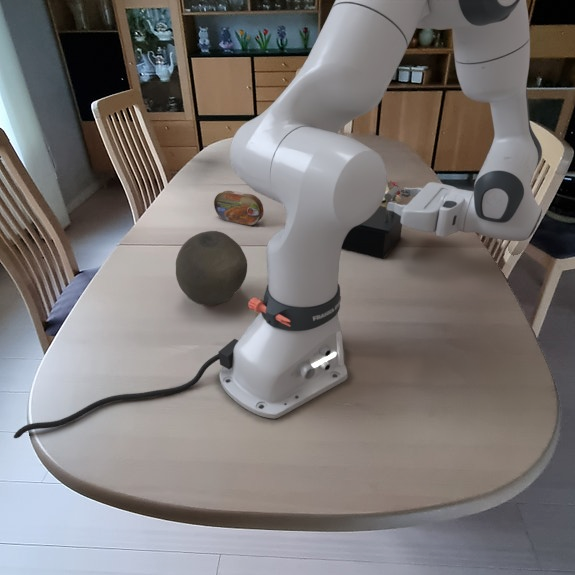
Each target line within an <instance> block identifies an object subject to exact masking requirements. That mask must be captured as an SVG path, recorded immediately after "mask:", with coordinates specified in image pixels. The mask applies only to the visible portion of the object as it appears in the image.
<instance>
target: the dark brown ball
mask: <svg viewBox="0 0 575 575" xmlns="http://www.w3.org/2000/svg"><path fill="white" fill-rule="evenodd" d="M247 273H248V260H247V257H246V254H245V253H244V250H243V249H242V247H241V245H240V244H239V243H238V242H236V241H235V239H233V238H231V237H230V236H229V235H228V234H226V233H224V232H222V231H218V230H208V231H207V230H206V231H203V232H199V233H197V234H195V235H192V236H191V237H189V238H188V239H187V240H186V241H185V242H184V243H183V244H182V246H181V247H180V249H179V251H178V254H177V255H176V259H175V276H176V277H175V278H176V282H177V284H178V287H179V289H180V290H181V291H182V292H183V294H184V295H185V296H186V297H187V298H188V299H189V300H191V301H192V302H194V303H196V304H198V305H202V306H215V305H216V306H217V305H219V304H223V303H224V302H227V301H229V299H231V298H232V297H233V296H234V295H235V294H236V293H237V292H238V291H239V290H240V289H241V287H242V285H243V284H244V282H245V280H246V277H247Z"/></svg>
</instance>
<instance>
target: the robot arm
mask: <svg viewBox="0 0 575 575" xmlns="http://www.w3.org/2000/svg"><path fill="white" fill-rule="evenodd" d="M529 20H530V19H529V11H528V5H527V0H335V1H334V3H333V5H332V6H331V9H330V12H329V13H328V15H327V18H326V19H325V22H324V24H323V26H322V28H321V30H320V31H319V34H318V36H317V38H316V39H315V42H314V44H313V46H312V48H311V50H310V52H309V53H308V56H307V58H306V60H305V61H304V64H303V65H302V66H301V68H300V70H299V71H298V72H297V74H296V75H295V76H294V78H293V79H292V80H291V82H290V83H289V85H287V87H286V88H285V89H284V90H283V92H281V93H280V94H279V96H278V97H277V98H276V99H275V100H274V101H273V102H272V104H271V105H270V106H269V107H268V108H267V109H265V110H264V111H263V112H262V113H261V114H259V115H257V116H256V117H254V118H252V119H250V120H248V121H246V122H244V123H243V124H242V125H241V126H240V127H238V129H237V131H236V132H235V134H234V136H233V138H232V142H231V145H230V148H229V149H230V150H229V159H230V164H231V167H232V170H233V171H234V173H235V174H236V175H237V177H238V178H239V179H240V180H242V182H244V183H245V184H246V185H247V186H248V187H249V188H250V189H252V190H253V191H254V192H256V193H257V194H260V195H262V196H264V197H266V198H269V199H271V200H273V201H275V202H277V203H280V204H281V205H282V206H283V208H284V211H285V215H286V220H285V225H284V226H285V227H283V228H281V229H280V230H278V231H277V232H276V233H275V234H274V235H273V236H272V237H270V239H269V241H268V243H267V245H266V250H265V252H266V253H265V254H266V268H267V269H266V270H267V285H266V288H265V291H264V295H263V299H262V300H261V299H259V298H258V297H256V296H254V297H252V298H251V299H249V301H248V308H249V309H250V310H252V311H254V312H255V313H257V316H256V317H255V319H254V320H253V321H252V322H251V323H250V325H249V327H248V328H247V329H246V331H245V332H244V333H243V334H242V336H241V337H240V338H239V339H237V338H233V339H232V340H231V341H230V342H229V343H227V344H226V345H225V346H223V347H222V348H221V349H220V350H218V352H217V354H215V355H214V356H212V357H210V358H209V359H208V360H206V361H205V362H204V363H203V364H202V366H200V368H199V370H198V371H197V373H196V375H195V376H194V377H193V378H192V379H191V380H189V381H188V382H186V383H184V384H181V385H179V386H176V387H170V388H165V389H163V388H162V389H156V390H151V391H145V392H136V393H124V394H116V395H111V396H107V397H104V398H102V399H99V400H96V401H94V402H92V403H90V404H89V405H87V406H85V407H83V408H81V409H79V410H78V411H76V412H75V413H72V414H70V415H68V416H66V417H63V418H62V419H57V420H53V421H44V422H32V423H28V424H26V425H24V426H22V427H21V428H19V429H18V430H17V431H16V432H15V433H14V434H13V439H19V438H20V437H22V436H23V435H24V434H25V433H27V432H29V431H33V430H41V429H42V430H43V429H53V428H57V427H61V426H64V425H66V424H67V425H68V424H69V423H71V422H74V421H75V420H77V419H79V418H81V417H82V416H84V415H87V413H89V412H91V411H93V410H94V409H96V408H99V407H101V406H104V405H106V404H109V403H114V402H118V401H128V400H139V399H147V398H152V397H159V396H160V397H161V396H164V395H165V396H166V395H172V394H177V393H180V392H183V391H185V390H188V389H190V388H191V387H193V386H194V385H196V384H197V383H198V382H199V381H200V380H201V378H202V377H203V375H204V373H205V372H206V370H207V369H208V368H209V367H210V366H211V365H213V364H214V363H216V362H217V361H219V365H220V366H222V368H221V369H220V370H219V374H218V375H219V382H220V385H221V387H222V388H223V390H224V391H225V393H226V394H227V395H228V396H229V397H230V398H231V399H232V400H233V401H234V402H235V403H237V404H238V405H239V406H241V407H242V408H244V409H245V410H247V411H248V412H250V413H252V414H254V415H257V416H259V417H263V418H267V419H272V420H273V419H274V420H275V419H278V418H281V417H282V416H284V415H286V414H288V413H289V412H291V411H293V410H295V409H297V408H299V407H301V406H302V405H304V404H306V403H308V402H309V401H311V400H313V399H315V398H317V397H318V396H320V395H322V394H324V393H326V392H327V391H329V390H331V389H333V388H335V387H336V386H338V385H341V383H344V382H345V381H347V379H348V377H349V376H348V369H347V367H346V366H347V365H346V364H345V350H344V346H343V335H342V329H341V324H340V320H339V311H340V307H341V301H342V300H341V299H342V297H341V286H340V284H339V272H340V260H341V251H342V249H341V248H342V244H343V241H344V239H345V237H346V235H347V234H348V232H349V231H350V230H351V229H352V228H353V227H355V226H357V225H360V224H362V223H363V222H365V221H366V220H368V219H369V218H370V217H371V216H372V215H373V214H374V213H375V212H376V211H377V209H378V208H379V206H380V205H381V203H382V201H383V198H384V196H385V192H386V188H387V184H388V172H387V166H386V162H385V161H384V158H383V157H382V155H380V153H378V152H377V151H375V150H373V149H372V148H370V147H369V146H367V145H366V144H364V143H363V142H360V141H359V140H357V139H355V138H353V137H352V136H350V135H345V134H341V133H339V132H340V131H341V130H342V129H343V128H344V127H345V126H346V125H347V124H349V123H350V122H352V121H354V120H355V119H357V118H359V117H361V116H364V115H366V114H368V113H370V112H371V111H373V110H374V109H375V108H376V107H377V106H378V105H379V104H380V103H381V101H382V100H383V98H384V96H385V94H386V92H387V89H388V87H389V86H390V83H391V82H392V80H393V78H394V75H395V74H396V71H397V69H398V67H399V66H400V65H401V64H400V63H401V61H402V59H403V58H404V56H405V53H406V51H407V49H408V47H409V45H410V43H411V41H412V39H413V36H414V34H415V33H416V30H417V29H422V30H438V31H443V30H452V32H451V33H452V48H453V57H454V58H453V59H454V65H455V71H456V76H457V80H458V83H459V86H460V89H461V91H462V94H463V95H464V96H465V97H466V98H468V99H470V100H472V101H474V102H478V103H483V104H484V103H486V104H487V103H489V106H490V112H491V118H492V124H493V132H494V136H493V140H492V142H491V144H490V147H489V149H488V151H487V155H486V158H485V159H484V162H483V164H482V166H481V168H480V170H479V172H478V174H477V176H476V178H475V181H474V185H473V190H468V189H462V188H458V187H455V186H453V185H449V184H445V183H441V182H436V181H431V182H427V184H425V185H424V186H423V187H403V188H402V189H401V190H400V196H401V197H403V198H409V197H411V198H412V199H411V200H410V201H409V202H408V203H407V204H400V203H398V202H397V201H396V202H395V201H390V202H389V203H388V204H387V210H389V211H394V212H395V213H397V214H398V215H400V216H401V221H400V223H401V224H402V227H404V228H407V229H411V230H415V231H418V232H422V233H423V232H424V233H429V234H431V233H435V236H436V237H439V238H446V237H449V235H451V234H454V233H458V232H461V233H474V234H478V235H481V236H483V237H485V238H490V239H495V240H502V241H507V242H508V241H509V242H523V241H527V239H529V238H530V237H531V236H532V235H533V234H534V232H535V231H536V228H537V226H538V223H539V222H540V219H541V217H542V213H543V208H542V206H541V205H540V204H538V202H537V200H536V199H535V196H534V193H533V189H532V184H531V183H532V182H533V178H534V176H535V172H536V170H537V168H538V166H539V165H540V163H541V160H542V157H543V148H542V145H541V143H540V140H539V139H538V138H537V136H536V134H535V132H534V131H533V128H532V126H531V120H530V111H529V110H530V109H529V100H528V98H529V97H528V88H527V84H528V76H529V70H530V57H531V35H530V33H531V32H530V21H529Z"/></svg>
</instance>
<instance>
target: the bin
mask: <svg viewBox="0 0 575 575" xmlns="http://www.w3.org/2000/svg"><path fill="white" fill-rule="evenodd" d="M402 229H403V225H402V224H401V223H400V222H399V223H398V224H397V225H396V226H395V227H394V228H393V230H392V231H391V232H390V233H389V234H387V233H383V232H378V231H374V230H370V229H365V228H361V227H356V226H355V227H353V228H352V229H351V230H350V231H349V232H348V234H347V235H346V237H345V239H344V241H343V244H342V248H341V250H345V251H348V252H353V253H357V254H361V255H364V256H368V257H374V258H377V259H381V260H383V259H384V258H385V257H386V256H387V255H388V253H390V251H391V250H392V249H393V248H394V246H395V245H396V244H397V243H398V242H399V240H401V238H402V231H403V230H402Z"/></svg>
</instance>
